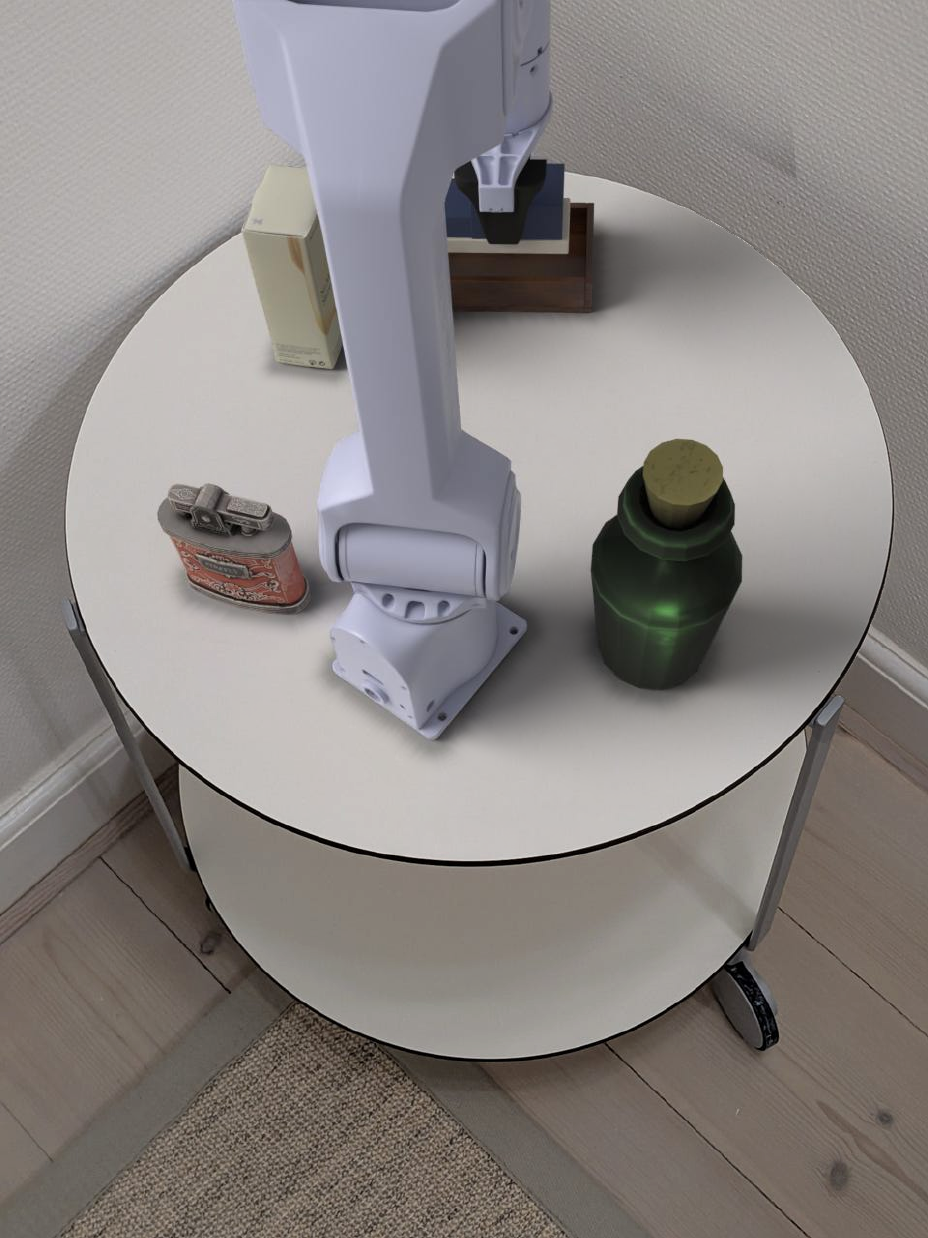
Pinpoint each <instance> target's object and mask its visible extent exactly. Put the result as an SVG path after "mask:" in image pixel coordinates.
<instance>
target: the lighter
mask: <svg viewBox="0 0 928 1238" xmlns="http://www.w3.org/2000/svg"><path fill="white" fill-rule="evenodd" d="M166 496H167V497H166V498H164V499H163V501H162V502H161V503H160V505H159V506H158V509H157V514H156V515H157V521H158V524H159V525H160V527H161V529H162V530H163V533H165V534H167V535H168V536H169V538H170V540H171V543H172V545H173V546H174V548H175V551H176V553H177V555H178V556H179V558H180V560H181V563H182V565H183V566H184V568H185V577H186V580H187V581H188V584H189V585H190V587H191V589H192V590H193V591H195V592H197V593H199V594H201V595H203V596H205V597H206V598H209V599H211V600H213V601H215V602H219V603H222V604H225V605H228V606H231V607H234V608H236V609H241V610H246V611H252V612H257V613H261V614H263V613H264V614H277V615H295V614H297V613H299V612H301V611H302V610H303V609H305V607H307V605H308V603H309V601H310V599H311V593H312V592H311V587H310V584H309V581H308V579H307V577H306V575H304V574H303V573H302V572H303V571H302V569H301V566H300V562H299V560H298V557H297V554H296V551H295V547H294V545H293V542H292V540H293V533H292V529H291V526H290V523H289V521H288V520H287V519H286V517H284V516H283V515H281V514H279V513H277V512H274V511H273V509H272V507H271V505H270V504H269V503H265V502H261V501H258V500H254V499H253V500H252V499H250V498H249V499H248V498H244V497H239V496H235V495H232V494H230V493H229V492H227V491H226V490H225V489H223V488H222V487H220V486H219V485H216V484H212V483H204V484H203V485H201V486H199V487H197V486H193V485H189V484H185V483H179V482H177V483H174V484H172V485H171V486H170V487H169V489H168V492H167V494H166Z"/></svg>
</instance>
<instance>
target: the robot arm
mask: <svg viewBox="0 0 928 1238" xmlns="http://www.w3.org/2000/svg"><path fill="white" fill-rule="evenodd" d="M551 2H552V0H231V3H232V7H233V11H234V12H233V13H234V17H235V21H236V26H237V29H238V34H239V39H240V43H241V48H242V53H243V58H244V61H245V65H246V70H247V75H248V78H249V79H248V80H249V83H250V87H251V89H252V91H253V92H254V94H255V97H256V98H255V99H256V102H257V107H258V112H259V117H260V121H261V123H262V125H263V126H264V127H265V129H267V130H269V131H270V132H271V133H272V134H274V135H275V136H276V137H278V138H279V139H280V140H281V141H282V142H283V143H285V144H286V145H288V146H289V147H290V148H291V149H293V150H294V151H295V152H296V153H298V154H299V155H300V156H301V157H302V158H303V159H304V162H305V167H307V171H308V175H309V179H310V184H311V188H312V192H313V197H314V201H315V205H316V210H317V214H318V218H319V223H320V227H321V232H322V236H323V241H324V246H325V251H326V257H327V262H328V267H329V272H330V278H331V283H332V288H333V294H334V299H335V304H336V309H337V315H338V320H339V325H340V331H341V336H342V341H343V345H342V347H343V351H344V357H345V362H346V367H347V372H348V378H349V384H350V388H351V394H352V398H353V404H354V411H355V415H356V420H357V426H358V430H357V431H355V432H353V433H350V434H349V435H347V436H345V437H342V438H341V439H338V441H337V442H336V443H335V445H334V447H333V449H332V451H331V453H330V454H329V456H328V458H327V461H326V463H325V466H324V469H323V472H322V476H321V481H320V484H319V489H318V494H317V500H316V511H317V517H318V541H317V542H318V555H319V561H320V564H321V567H322V568H323V570H324V571H325V572H326V574H327V576H328V578H329V579H330V580H331V582H335V583H346V582H350V584H351V587H352V591H353V593H354V594H353V596H352V597H351V599H350V601H349V602H348V604H347V606H346V608H345V609H344V610H343V611H342V612H341V614H340V615H339V616H338V618H336V620H335V621H334V622H333V624H332V625H331V626H330V629H329V632H328V633H329V638H330V641H331V645H332V647H333V650H334V653H335V654H334V655H335V657H336V658H335V659H334V661H333V662H332V666H331V668H332V670H333V673H334V674H335V675H337V676H338V677H340V678H341V679H343V680H345V682H347V683H349V684H350V685H351V686H352V687H354V688H355V689H357V690H358V691H360V692H361V693H362V694H364V695H365V696H367V697H368V698H369V699H371V701H373V702H375V703H376V704H377V705H379V706H381V707H382V708H383V709H385V710H386V711H387V712H388V713H390V714H392V715H393V716H395V717H396V718H397V719H399V720H400V721H402V722H403V723H404V724H406V725H408V726H409V727H411V728H412V729H413V730H415V732H417V733H419V734H420V735H422V736H423V737H424V738H426V739H427V740H433V741H434V740H437V739H438V737H440V736H441V734H442V733H443V732H444V731H446V728H447V727H448V726H449V725H450V724H451V723H452V721H453V720H454V719H455V717H457V715H458V714H459V713H460V711H462V709H463V708H464V707H465V706H466V704H467V703H468V702H469V701H470V699H471V698H472V697H473V696H474V694H475V693H476V692H477V691H478V690H479V689H480V688H481V686H482V685H483V684H484V683H485V682H486V680H487V679H488V678H489V677H490V675H491V674H492V673H493V672H494V670H495V669H496V668H497V667H498V666H499V665H500V663H501V662H502V661H503V660H504V659H505V657H506V656H507V655H508V654H509V653H510V651H511V650H512V649H513V647H514V646H515V645H516V644H517V643H518V642H519V640H520V639H521V638H522V637H523V636H524V634H525V633H526V631H527V629H528V623H527V621H526V620H525V619H524V618H523V617H521V616H519V615H518V614H517V613H515V612H513V611H512V610H510V609H509V608H507V607H506V606H504V605H502V604H501V603H500V602H498V601H500V600H501V598H502V597H503V596H504V595H505V594H507V593H508V592H509V591H510V589H511V587H512V583H513V580H514V575H515V568H516V563H517V556H518V547H519V539H520V530H521V519H522V517H521V516H522V494H521V492H520V490H519V489H518V487H517V479H516V476H517V475H516V474H515V472H514V471H513V470H512V460H511V459H510V457H509V458H508V457H507V456H506V455H504V454H503V453H501V452H499V451H498V450H497V449H495V448H493V447H492V446H490V445H488V444H487V443H485V442H483V441H481V440H479V439H478V438H476V437H474V436H472V435H471V434H469V433H468V432H466V431H465V430H464V429H462V418H461V408H460V407H461V406H460V392H459V380H458V368H457V366H458V365H457V354H456V341H455V327H454V326H455V325H454V313H453V312H454V311H453V310H452V299H451V285H450V272H449V259H448V245H447V232H446V219H445V205H444V202H445V198H446V195H447V192H448V189H449V186H450V183H451V180H452V178H454V179H455V182H456V185H457V187H458V189H459V190H460V191H461V192H462V193H464V194H465V196H466V197H467V198H468V199H469V200H470V202H471V203H472V205H473V206H474V208H475V210H476V212H477V215H478V218H479V221H480V224H481V227H482V230H483V232H484V235H485V237H486V239H487V241H488V243H489V244H507V245H517V244H519V242H520V239H521V236H522V233H523V230H524V225H525V221H526V216H527V212H528V209H529V207H530V204H531V202H532V201H533V199H534V197H535V196H536V195H537V194H538V193H539V192H540V191H541V190H542V187H543V185H544V183H545V180H546V171H547V163H548V159H545V158H544V159H543V158H539V159H538V158H531V156H532V153H533V152H534V149H535V148H536V146H537V144H538V143H539V141H540V139H541V138H542V135H543V134H544V132H545V131H546V128H547V127H548V125H549V123H550V122H551V119H552V115H553V112H554V111H553V110H554V98H553V93H552V91H551V13H552V12H551V10H552V8H551V7H552V3H551ZM512 631H516V632H517V633H515V634H513V633H511V632H512ZM441 716H445V717H446V718H445V719H444V720H441V719H439V718H440V717H441Z"/></svg>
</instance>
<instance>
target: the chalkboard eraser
mask: <svg viewBox="0 0 928 1238" xmlns="http://www.w3.org/2000/svg"><path fill="white" fill-rule="evenodd" d="M565 168H566V166H565V163H555V162H553V163H552V162H551V163H548V162H547V171H546V180H545V183H544V185H543V187H542V190H541V191H540V192H539V193H538V194H537V195H536V196H535V197H534V199H533V201H532V202H531V204H530V207H529V209H528V212H527V216H526V221H525V225H524V230H523V233H522V236H521V239H520V242H519V244H517V245H507V244H489V243H488V241H487V239H486V237H485V235H484V232H483V230H482V227H481V224H480V221H479V218H478V215H477V212H476V210H475V208H474V206H473V205H472V203H471V202H470V200H469V199H468V198H467V197H466V196H465V194H464V193H462V192H461V191H460V190H459V189H458V187H457V185H456V182H455V179H454V177H452V180H451V183H450V186H449V189H448V192H447V195H446V198H445V201H444V205H445V219H446V232H447V245H448V252H452V253H530V254H568V253H569V225H570V203H571V198H570V197H565V172H566V171H565V170H566V169H565Z"/></svg>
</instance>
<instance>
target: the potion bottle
mask: <svg viewBox="0 0 928 1238" xmlns="http://www.w3.org/2000/svg"><path fill="white" fill-rule="evenodd" d="M616 510H617V511H616V514H615V515H614V516H612V517H611V518H610V519H608V520H607V521H606V522H604V524H603V526H602V528H601V529H600V531H599V533H598V534H597V537H596V538H595V540H594V541H593V543H592V547H591V560H590V578H591V579H590V580H591V586H592V587H591V588H592V598H593V609H594V619H595V630H596V640H597V647H598V650H599V653H600V655H601V657H602V661H603V663H604V664H605V666H606V667H607V668H608V669H609V670H610V671H611V672H612V673H613V674H614V675H615V676H616V677H617V678H618V679H619V680H621V681H623V682H625V683H627V684H630V685H631V686H634V687H635V688H637V689H647V690H648V689H649V690H659V691H661V690H665V689H668V688H671V687H675V686H680V685H683V683H685V682H686V681H687V680H689V678H691V677H692V676H694V675H695V674H696V673H697V672H698V671H699V669H700V667H701V666H702V664H703V662H704V660H705V658H706V656H707V654H708V652H709V650H710V648H711V646H712V643H713V641H714V640H715V638H716V636H717V634H718V631H719V629H720V627H721V625H722V623H723V621H724V619H725V617H726V615H727V613H728V611H729V610H730V606H731V605H732V603H733V601H734V599H735V597H736V595H737V593H738V590H739V588H740V586H741V584H742V582H743V553H742V552H741V549H740V547H739V545H738V543H737V541H736V538H735V536H734V534H733V532H732V530H733V529H734V527H735V524H736V523H735V522H736V504H735V500H734V497H733V495H732V492H731V490H730V489H729V486H728V484H727V482H726V479H725V477H724V466H723V464H722V462H721V459H720V457H719V455H718V454H717V453H715V451H714V450H712V449H711V448H710V447H709V446H708V445H707V444H705V443H701V442H699V441H697V440H694V439H689V438H688V439H687V438H674V439H670V440H667V441H663V442H661V443H659V444H658V445H656V446H655V447H653V448H652V449H650V451H649V452H648V454H647V456H646V457H645V459H644V461H643V465H642V466H640V467H639V468H638V469H636V470H635V471H633V473H632V475H631V476H630V477H629V479H628V480H627V481H626V483H625V484H624V486H623V488H622V489H621V491H620V493H619V494H618V497H617V509H616Z"/></svg>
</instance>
